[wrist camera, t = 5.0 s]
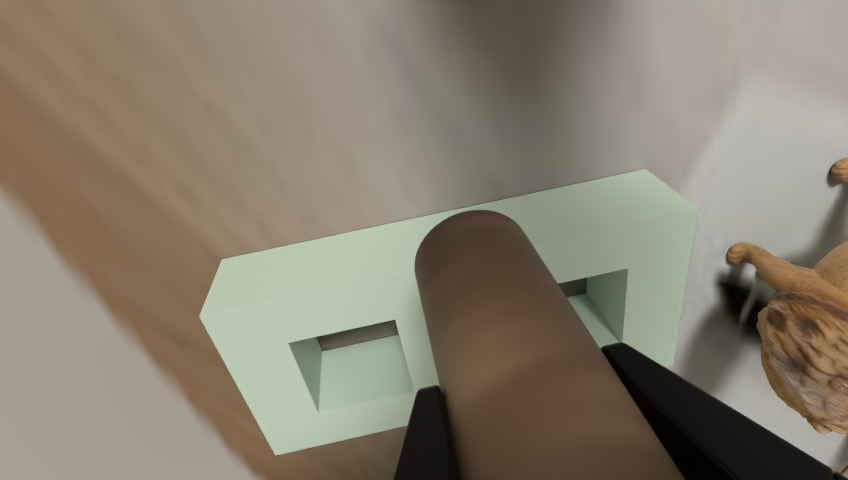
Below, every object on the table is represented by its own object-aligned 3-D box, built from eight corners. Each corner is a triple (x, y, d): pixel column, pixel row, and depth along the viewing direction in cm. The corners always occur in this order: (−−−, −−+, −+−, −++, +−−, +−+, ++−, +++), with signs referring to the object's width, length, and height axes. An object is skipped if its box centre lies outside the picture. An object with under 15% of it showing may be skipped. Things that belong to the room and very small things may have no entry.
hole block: (645, 168, 23) (698, 208, 19) (632, 313, 27) (673, 365, 24) (221, 259, 22) (199, 316, 19) (284, 390, 27) (275, 455, 23)
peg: (525, 197, 12) (1032, 870, 3) (532, 295, 13) (880, 921, 5) (403, 224, 12) (572, 995, 3) (425, 319, 13) (576, 1007, 4)
